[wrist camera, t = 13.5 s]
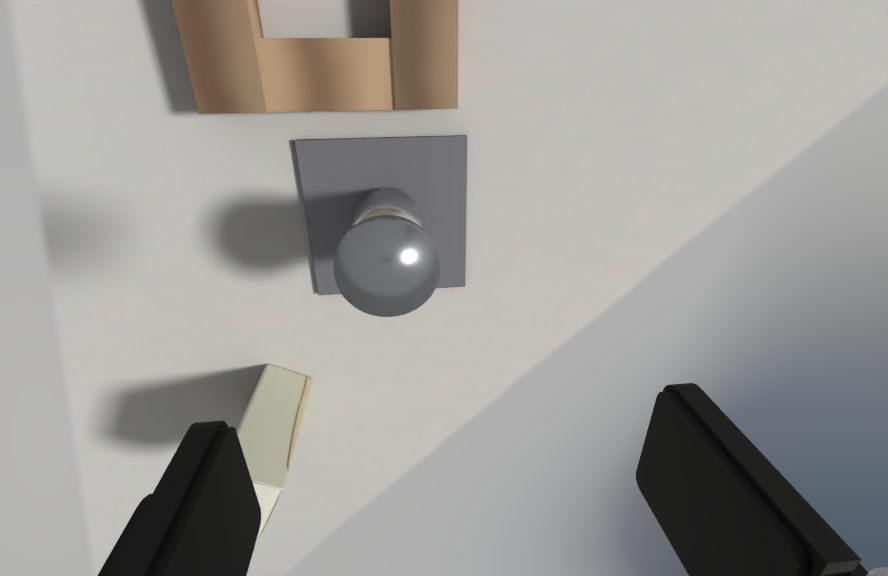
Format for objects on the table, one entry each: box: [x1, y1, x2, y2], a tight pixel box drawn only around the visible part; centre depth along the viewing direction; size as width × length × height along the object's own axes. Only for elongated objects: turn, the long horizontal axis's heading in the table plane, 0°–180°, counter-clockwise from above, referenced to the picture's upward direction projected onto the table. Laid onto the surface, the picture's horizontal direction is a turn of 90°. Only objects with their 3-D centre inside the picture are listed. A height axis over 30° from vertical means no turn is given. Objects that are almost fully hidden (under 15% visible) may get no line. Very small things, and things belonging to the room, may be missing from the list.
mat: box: [295, 135, 467, 295], centre depth 34 cm, size 12×12×1 cm
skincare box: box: [236, 364, 312, 545], centre depth 34 cm, size 6×4×12 cm
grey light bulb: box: [334, 187, 440, 317], centre depth 29 cm, size 6×6×10 cm
